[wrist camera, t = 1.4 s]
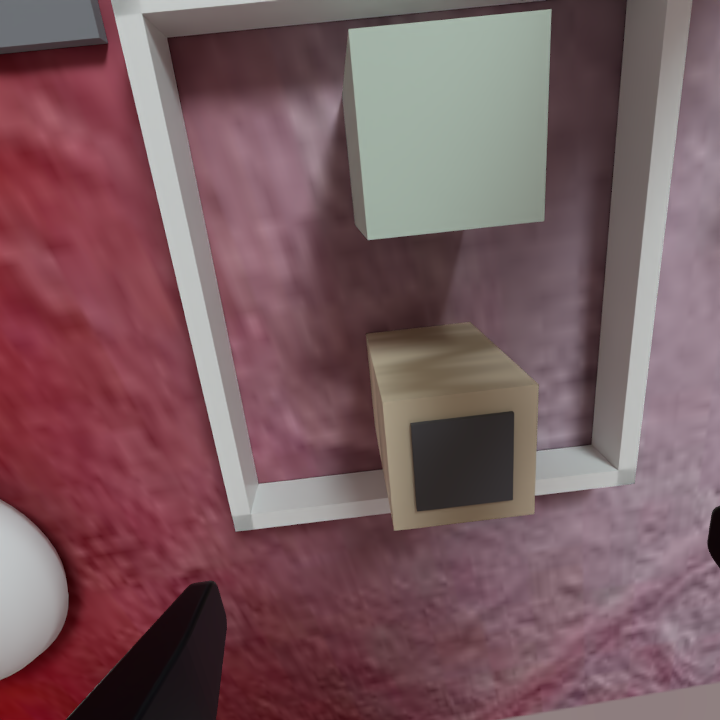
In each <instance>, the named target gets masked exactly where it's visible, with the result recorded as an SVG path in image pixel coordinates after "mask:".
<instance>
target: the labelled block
mask: <svg viewBox="0 0 720 720" xmlns="http://www.w3.org/2000/svg"><path fill="white" fill-rule="evenodd" d="M366 341H367V351H368V362H369V372H370V382H371V392H372V402H373V412H374V422H375V430H376V435H377V440H378V446H379V451H380V457H381V462H382V467H383V473H384V478H385V484H386V489H387V494H388V500H389V505H390V511H391V516H392V521H393V527H394V531H398V530H406V529H415V528H423V527H431V526H439V525H448V524H456V523H464V522H473V521H481V520H489V519H497V518H506V517H514V516H522V515H530V514H534V507H535V477H536V448H537V418H538V389H539V384H538V383H537V382H535V381H534V380H533V379H532V378H531V377H530V376H529V375H528V374H527V373H526V372H524V371H523V370H522V369H521V368H520V367H519V366H518V365H517V364H516V363H515V362H513V361H512V360H511V359H510V358H509V357H508V356H507V355H506V354H505V353H504V352H502V351H501V350H500V349H499V348H498V347H497V346H496V345H495V344H494V343H493V342H491V341H490V340H489V339H488V338H487V337H486V336H485V335H484V334H483V333H482V332H480V331H479V330H478V329H477V328H476V327H475V326H474V325H473V324H472V323H471V322H466V323H457V324H448V325H439V326H430V327H421V328H412V329H403V330H395V331H386V332H377V333H368V334H366Z"/></svg>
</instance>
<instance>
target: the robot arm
mask: <svg viewBox="0 0 720 720" xmlns="http://www.w3.org/2000/svg"><path fill="white" fill-rule="evenodd" d="M707 544H708V549H709V552H710V554H711V556H712V558H713V559H714V561H715V562H716V564H717V565H718V566H719V568H720V506H718V507H716V508H715V509H714V510H713V511H712V515H711V521H710V528H709V535H708V542H707ZM226 630H227V619H226V613H225V610H224V607H223V603H222V600H221V596H220V593H219V590H218V587H217V584H216V583H215V582H214V581H205V582H198V583H193V584H191V585H189V586H188V587H187V588H186V589H185V590H184V592H183V593H182V594H181V595H180V596H179V597H178V598H177V599H176V600H175V601H174V602H173V603H172V605H171V606H170V607H169V608H168V609H167V610H166V611H165V612H164V613H163V614H162V615H161V617H160V618H159V619H158V620H157V621H156V622H155V623H154V624H153V625H152V626H151V627H150V629H149V630H148V631H147V632H146V633H145V634H144V635H143V636H142V637H141V638H140V639H139V640H138V642H137V643H136V644H135V645H134V646H133V647H132V648H131V649H130V650H129V651H128V652H127V654H126V655H125V656H124V657H123V658H122V659H121V660H120V661H119V662H118V663H117V664H116V666H115V667H114V668H113V669H112V670H111V671H110V672H109V673H108V674H107V675H106V676H105V677H104V679H103V680H102V681H101V682H100V683H99V684H98V685H97V686H96V687H95V688H94V689H93V691H92V692H91V693H90V694H89V695H88V696H87V697H86V698H85V699H84V700H83V701H82V703H81V704H80V705H79V706H78V707H77V708H76V709H75V710H74V711H73V712H72V713H71V714H70V716H69V717H68V718H67V719H66V720H216V715H217V707H218V699H219V690H220V682H221V673H222V664H223V656H224V647H225V639H226Z"/></svg>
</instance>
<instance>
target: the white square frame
mask: <svg viewBox="0 0 720 720" xmlns="http://www.w3.org/2000/svg"><path fill="white" fill-rule="evenodd" d="M534 1H544V0H111V2H112V7H113V11H114V15H115V19H116V24H117V28H118V32H119V37H120V41H121V45H122V49H123V54H124V58H125V62H126V66H127V71H128V75H129V79H130V83H131V88H132V92H133V96H134V100H135V105H136V109H137V113H138V118H139V122H140V126H141V130H142V135H143V139H144V143H145V147H146V152H147V156H148V160H149V164H150V169H151V173H152V177H153V181H154V186H155V190H156V194H157V198H158V203H159V207H160V211H161V216H162V220H163V224H164V228H165V233H166V237H167V241H168V245H169V250H170V254H171V258H172V262H173V267H174V271H175V275H176V279H177V284H178V288H179V292H180V297H181V301H182V305H183V309H184V314H185V318H186V322H187V326H188V331H189V335H190V339H191V343H192V348H193V352H194V356H195V360H196V365H197V369H198V373H199V377H200V382H201V386H202V390H203V395H204V399H205V403H206V407H207V412H208V416H209V420H210V424H211V429H212V433H213V437H214V441H215V446H216V450H217V454H218V458H219V463H220V467H221V471H222V476H223V480H224V484H225V488H226V493H227V497H228V501H229V505H230V510H231V514H232V518H233V522H234V527H235V531H236V532H237V531H245V530H253V529H262V528H270V527H278V526H287V525H295V524H303V523H312V522H320V521H328V520H337V519H345V518H353V517H362V516H370V515H378V514H387V513H391V511H390V505H389V500H388V494H387V489H386V484H385V478H384V473H383V469H382V470H373V471H365V472H356V473H348V474H339V475H331V476H322V477H314V478H306V479H297V480H289V481H280V482H272V483H263V484H258V479H257V474H256V469H255V464H254V460H253V455H252V450H251V445H250V440H249V435H248V430H247V425H246V421H245V416H244V411H243V406H242V401H241V396H240V391H239V386H238V382H237V377H236V372H235V367H234V362H233V357H232V352H231V347H230V343H229V338H228V333H227V328H226V323H225V318H224V313H223V308H222V304H221V299H220V294H219V289H218V284H217V279H216V274H215V269H214V265H213V260H212V255H211V250H210V245H209V240H208V235H207V231H206V226H205V221H204V216H203V211H202V206H201V201H200V196H199V192H198V187H197V182H196V177H195V172H194V167H193V162H192V157H191V153H190V148H189V143H188V138H187V133H186V128H185V123H184V118H183V114H182V109H181V104H180V99H179V94H178V89H177V84H176V79H175V75H174V70H173V65H172V60H171V55H170V50H169V45H168V40H167V38H168V37H178V36H188V35H199V34H209V33H219V32H229V31H239V30H249V29H260V28H270V27H280V26H290V25H300V24H310V23H321V22H331V21H341V20H351V19H361V18H371V17H382V16H392V15H402V14H412V13H422V12H432V11H443V10H453V9H463V8H473V7H483V6H493V5H504V4H514V3H524V2H534ZM692 1H693V0H627V9H626V21H625V33H624V46H623V58H622V71H621V83H620V96H619V108H618V121H617V133H616V146H615V158H614V171H613V183H612V196H611V208H610V220H609V233H608V245H607V258H606V270H605V283H604V295H603V308H602V320H601V333H600V345H599V358H598V370H597V383H596V395H595V408H594V420H593V432H592V445H585V446H576V447H568V448H559V449H551V450H542V451H536V477H535V496H536V495H545V494H553V493H561V492H570V491H578V490H586V489H595V488H603V487H611V486H620V485H628V484H635V475H636V467H637V459H638V450H639V442H640V434H641V425H642V417H643V409H644V400H645V392H646V384H647V375H648V367H649V359H650V350H651V342H652V334H653V326H654V317H655V309H656V301H657V292H658V284H659V276H660V267H661V259H662V251H663V242H664V234H665V226H666V217H667V209H668V201H669V192H670V184H671V176H672V167H673V159H674V151H675V142H676V134H677V126H678V117H679V109H680V101H681V92H682V84H683V76H684V67H685V59H686V51H687V42H688V34H689V26H690V17H691V9H692Z"/></svg>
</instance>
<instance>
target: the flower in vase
mask: <svg viewBox="0 0 720 720" xmlns="http://www.w3.org/2000/svg"><path fill="white" fill-rule="evenodd" d="M68 599H69V595H68V587H67V581H66V574H65V571H64V567H63V564H62V561H61V559H60V557H59V555H58V553H57V551H56V549H55V548H54V546H53V545H52V544H51V542H50V541H49V539H48V538H47V537H46V536H45V534H44V533H43V532H42V531H41V530H40V529H39V528H38V527H37V526H36V525H35V524H34V523H33V522H32V521H31V520H30V519H29V518H27V517H26V516H25V515H24V514H22V513H21V512H20V511H18V510H17V509H15V508H14V507H13V506H11V505H9V504H7V503H6V502H4V501H2V500H1V499H0V680H1V679H3V678H6V677H8V676H11V675H12V674H14V673H16V672H17V671H19V670H21V669H22V668H24V667H25V666H26V665H28V664H29V663H30V662H31V661H33V660H34V659H35V658H36V657H38V656H39V655H40V654H41V653H42V652H44V651H45V650H46V649H47V648H48V647H49V646H50V645H51V644H52V643H53V642H54V641H55V639H56V638H57V636H58V635H59V633H60V631H61V630H62V627H63V625H64V623H65V620H66V616H67V612H68Z"/></svg>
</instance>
